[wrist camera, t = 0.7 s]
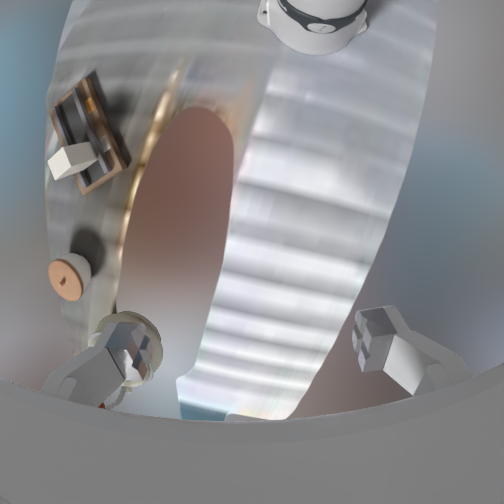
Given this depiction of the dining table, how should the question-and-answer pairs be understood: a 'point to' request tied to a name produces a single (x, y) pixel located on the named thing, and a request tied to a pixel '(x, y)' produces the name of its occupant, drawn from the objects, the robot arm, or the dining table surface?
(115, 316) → the kettle
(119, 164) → the switch housing
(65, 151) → the switch knob
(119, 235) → the dining table surface
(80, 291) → the lidded jar
